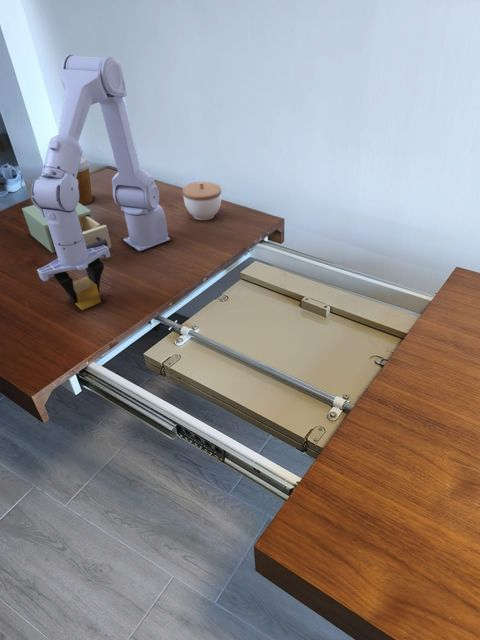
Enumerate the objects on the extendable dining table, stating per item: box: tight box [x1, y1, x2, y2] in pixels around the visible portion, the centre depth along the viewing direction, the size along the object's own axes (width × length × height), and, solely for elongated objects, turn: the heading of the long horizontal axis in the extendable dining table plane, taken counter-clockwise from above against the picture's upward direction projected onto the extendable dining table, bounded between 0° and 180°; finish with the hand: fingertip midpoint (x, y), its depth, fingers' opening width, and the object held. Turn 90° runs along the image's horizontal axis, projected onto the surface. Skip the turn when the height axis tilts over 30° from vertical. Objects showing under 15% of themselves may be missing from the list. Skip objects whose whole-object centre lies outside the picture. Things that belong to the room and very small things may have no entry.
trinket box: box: [181, 181, 222, 221], centre depth 132 cm, size 11×11×9 cm
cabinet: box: [21, 202, 94, 254], centre depth 122 cm, size 13×12×7 cm
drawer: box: [48, 215, 112, 249], centre depth 116 cm, size 17×11×6 cm
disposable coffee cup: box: [76, 155, 93, 206], centre depth 138 cm, size 10×10×12 cm
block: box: [73, 275, 102, 311], centre depth 101 cm, size 4×4×4 cm
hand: (85, 296), depth 101 cm, fingers closed on block, 4 cm apart
